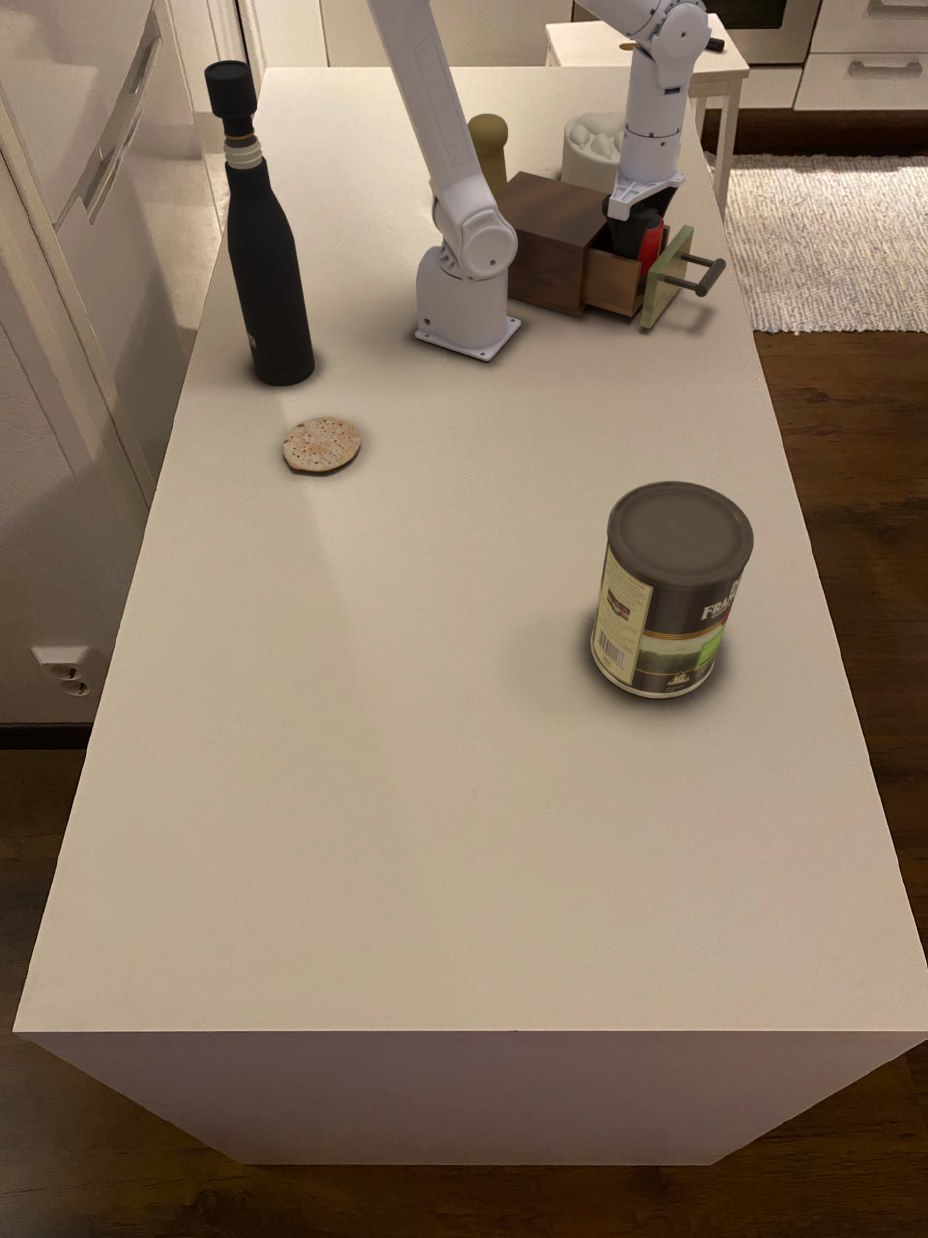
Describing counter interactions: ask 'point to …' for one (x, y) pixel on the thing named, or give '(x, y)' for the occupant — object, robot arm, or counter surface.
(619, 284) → the drawer
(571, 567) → the counter surface
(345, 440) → the flatbread
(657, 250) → the can
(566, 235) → the cabinet
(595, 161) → the lumpy-topped squat cylinder
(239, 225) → the black bottle
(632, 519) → the coffee can
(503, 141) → the cork
